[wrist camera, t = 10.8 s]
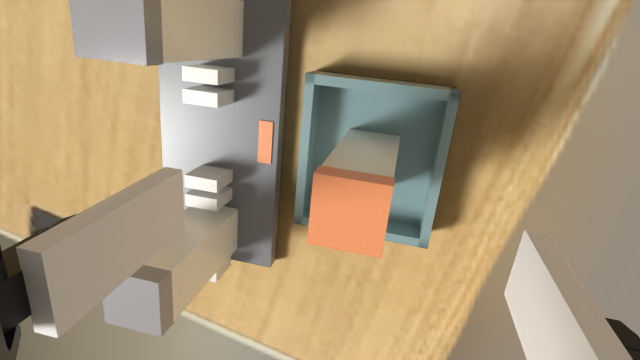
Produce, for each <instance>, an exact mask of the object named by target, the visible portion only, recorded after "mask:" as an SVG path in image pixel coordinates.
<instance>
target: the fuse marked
mask: <svg viewBox="0 0 640 360" xmlns="http://www.w3.org/2000/svg"><path fill="white" fill-rule="evenodd" d="M399 143H400V136H396V135H389V134H383V133H376V132H369V131H362V130H355V129H349V130H348V132H347V133H346V134H345V136H344V137H343V138H342V139H341V141H340V142H339V143H338V145H337V146H336V147H335V149H334V150H333V151H332V152H331V154H330V155H329V156H328V158H327V159H326V160H325V161H324V163H323V164H322V165H320V166H319V167H318V168H317V169H316V171H315V172H314V174H313V184H312V195H311V205H310V216H309V226H308V236H307V243H308V244H313V245H318V246H323V247H328V248H333V249H338V250H343V251H348V252H353V253H358V254H363V255H368V256H373V257H378V258H381V257H382V252H383V246H384V240H385V234H386V229H387V223H388V217H389V211H390V205H391V200H392V194H393V188H394V182H395V178H394V174H395V168H396V162H397V155H398V149H399Z"/></svg>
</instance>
